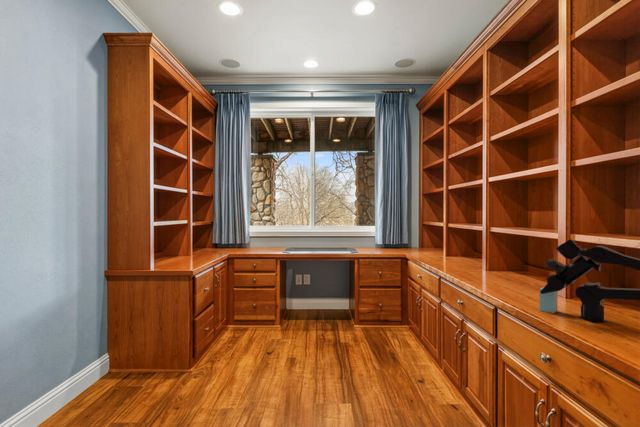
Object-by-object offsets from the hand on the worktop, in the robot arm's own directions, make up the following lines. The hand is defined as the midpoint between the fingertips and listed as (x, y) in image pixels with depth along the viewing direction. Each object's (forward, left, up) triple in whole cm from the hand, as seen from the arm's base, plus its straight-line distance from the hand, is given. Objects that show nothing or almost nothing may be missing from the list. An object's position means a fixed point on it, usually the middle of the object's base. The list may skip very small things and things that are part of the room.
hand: (544, 291), depth 138 cm
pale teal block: (-1, -1, -8) cm, 8 cm away
